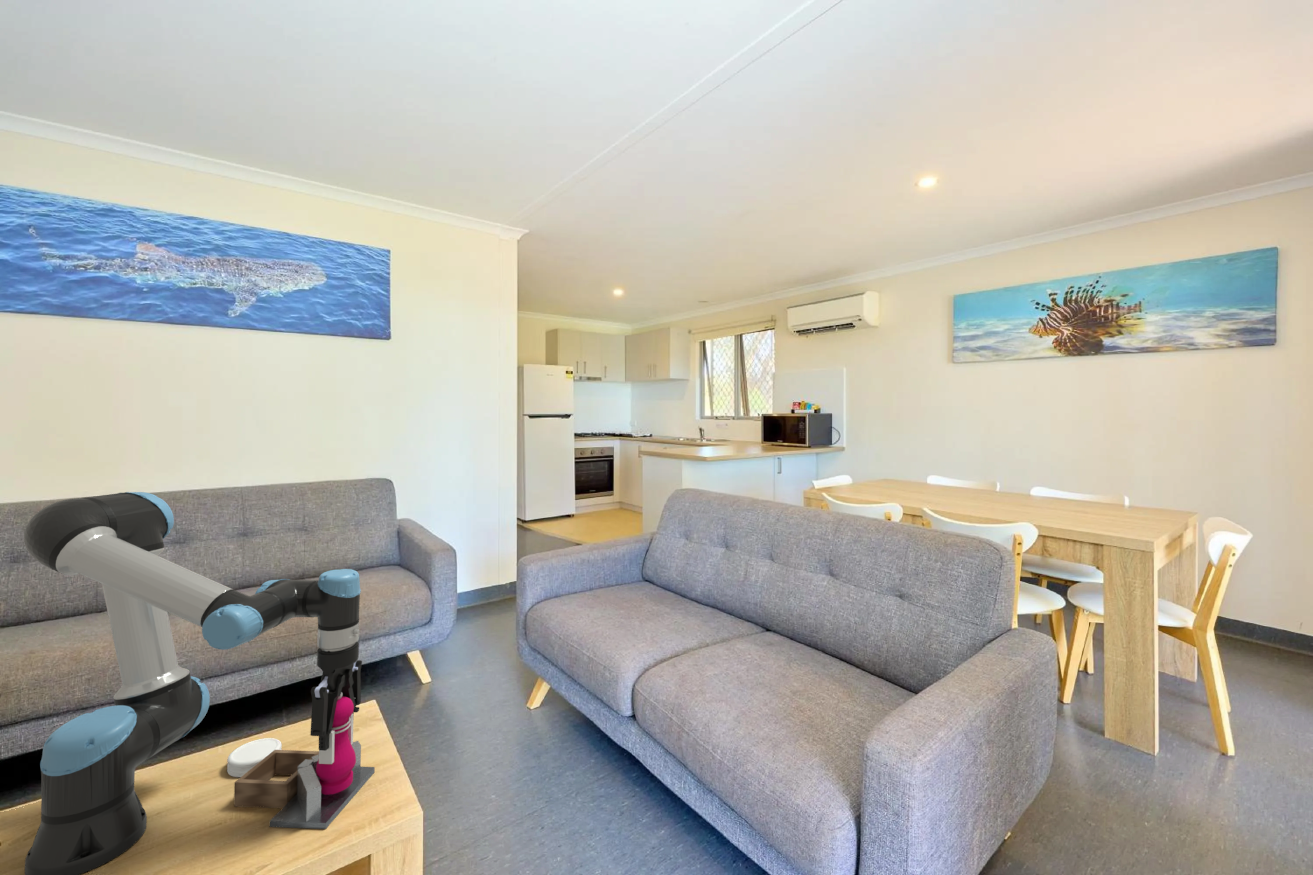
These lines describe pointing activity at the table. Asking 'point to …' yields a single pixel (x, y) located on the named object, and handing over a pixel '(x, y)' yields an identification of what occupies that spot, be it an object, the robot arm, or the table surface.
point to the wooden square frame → (266, 792)
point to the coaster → (250, 755)
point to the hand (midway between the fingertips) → (336, 752)
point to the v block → (319, 796)
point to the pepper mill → (339, 752)
